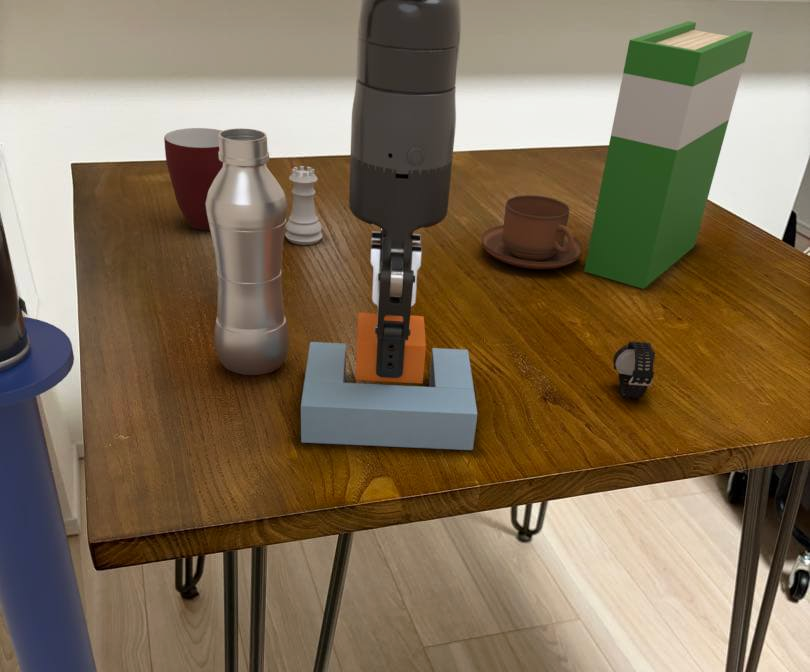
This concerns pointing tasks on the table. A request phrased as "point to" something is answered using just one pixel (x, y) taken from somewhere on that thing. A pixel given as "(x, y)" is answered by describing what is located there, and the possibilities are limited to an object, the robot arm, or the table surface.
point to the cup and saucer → (533, 234)
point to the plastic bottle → (248, 255)
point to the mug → (193, 170)
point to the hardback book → (663, 150)
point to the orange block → (368, 350)
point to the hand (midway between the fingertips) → (389, 357)
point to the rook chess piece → (303, 209)
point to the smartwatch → (634, 368)
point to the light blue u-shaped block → (388, 404)
